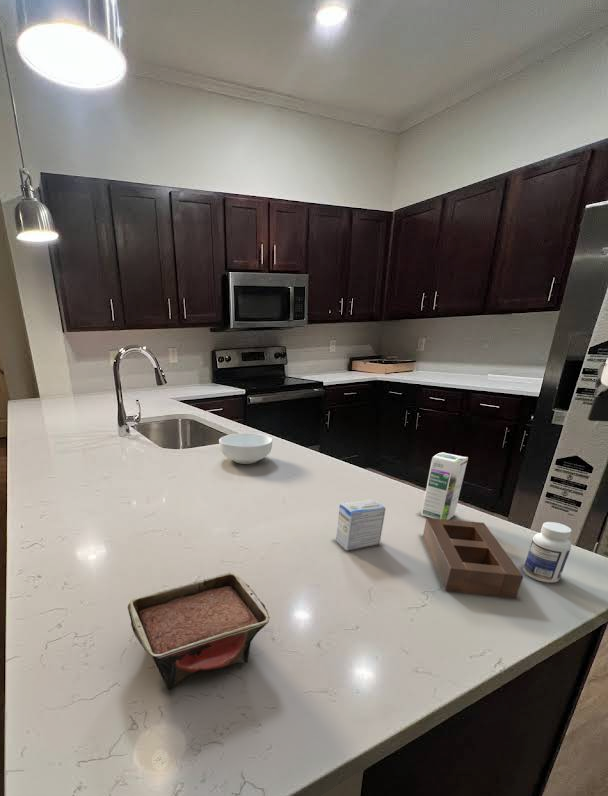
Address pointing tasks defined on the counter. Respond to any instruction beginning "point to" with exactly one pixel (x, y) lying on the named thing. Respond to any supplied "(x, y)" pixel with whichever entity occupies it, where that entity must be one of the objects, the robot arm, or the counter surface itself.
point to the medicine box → (360, 524)
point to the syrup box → (443, 486)
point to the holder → (470, 558)
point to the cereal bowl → (245, 447)
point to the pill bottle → (548, 552)
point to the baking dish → (198, 625)
